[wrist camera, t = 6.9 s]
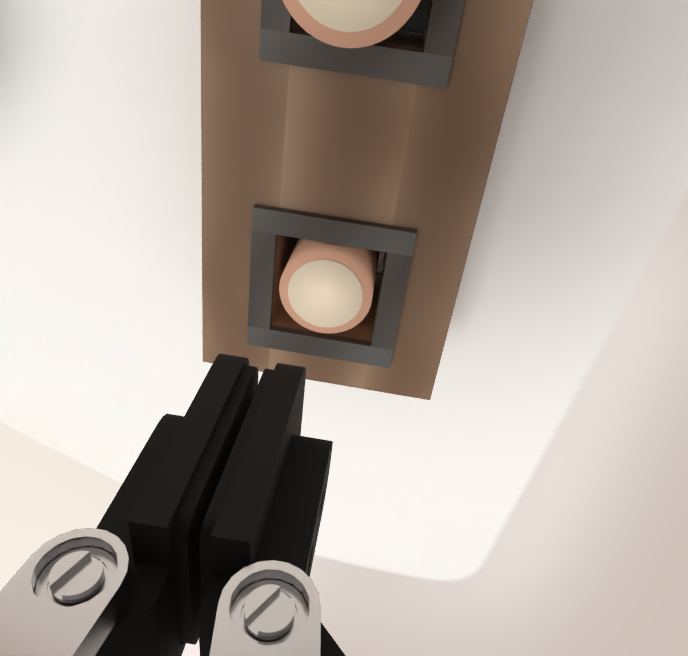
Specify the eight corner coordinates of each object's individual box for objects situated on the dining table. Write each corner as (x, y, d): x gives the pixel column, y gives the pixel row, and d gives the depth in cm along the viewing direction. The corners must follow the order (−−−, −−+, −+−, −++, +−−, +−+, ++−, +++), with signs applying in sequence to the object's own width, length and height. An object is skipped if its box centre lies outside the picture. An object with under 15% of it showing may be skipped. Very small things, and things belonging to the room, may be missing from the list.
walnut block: (544, -168, 22) (594, -226, 16) (428, 324, 34) (430, 405, 27) (258, -208, 22) (194, -279, 16) (241, 293, 34) (200, 366, 28)
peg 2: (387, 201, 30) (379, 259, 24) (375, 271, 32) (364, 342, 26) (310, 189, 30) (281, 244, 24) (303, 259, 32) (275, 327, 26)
